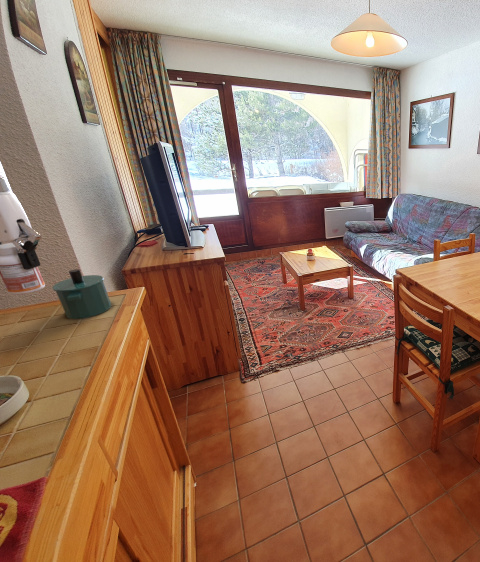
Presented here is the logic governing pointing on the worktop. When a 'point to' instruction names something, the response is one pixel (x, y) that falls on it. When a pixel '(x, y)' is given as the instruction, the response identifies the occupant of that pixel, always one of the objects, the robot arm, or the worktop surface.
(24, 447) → the worktop surface
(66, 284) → the pot lid
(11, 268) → the pill bottle
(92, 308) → the pot
